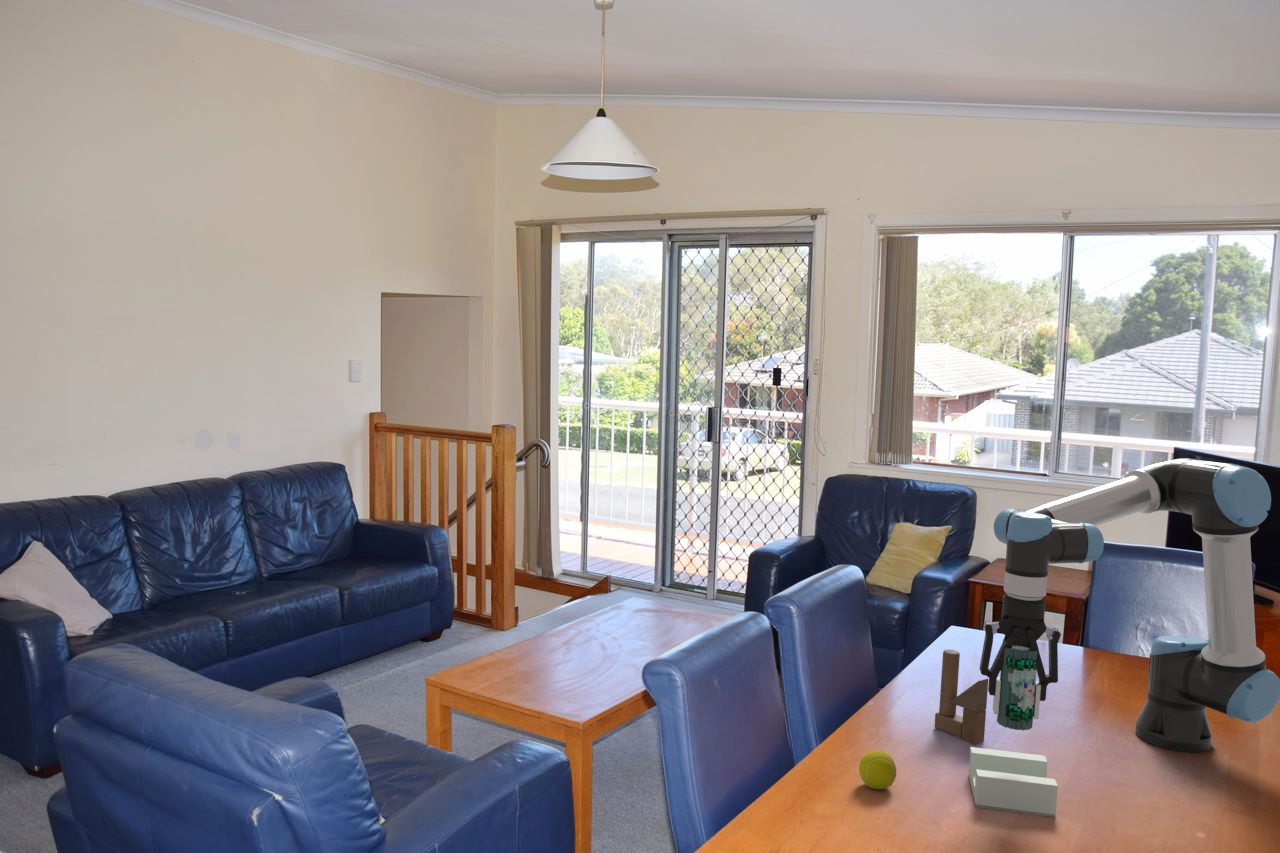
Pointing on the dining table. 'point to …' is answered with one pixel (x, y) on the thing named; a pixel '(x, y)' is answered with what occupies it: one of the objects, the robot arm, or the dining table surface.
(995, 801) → the socket block
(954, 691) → the wooden block
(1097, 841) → the dining table surface
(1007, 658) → the can
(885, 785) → the tennis ball
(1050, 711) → the dining table surface
